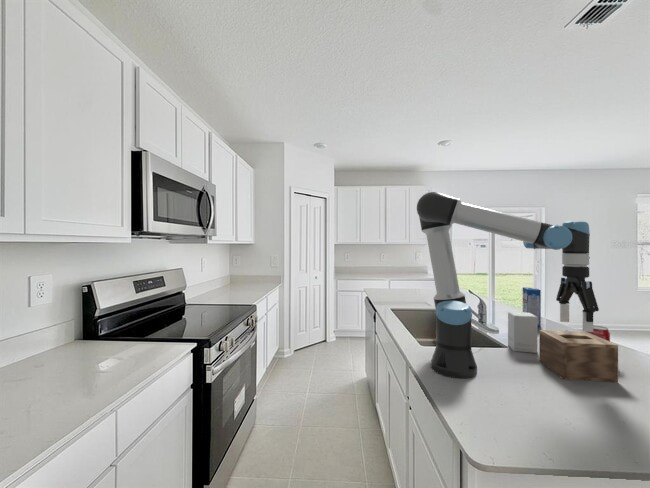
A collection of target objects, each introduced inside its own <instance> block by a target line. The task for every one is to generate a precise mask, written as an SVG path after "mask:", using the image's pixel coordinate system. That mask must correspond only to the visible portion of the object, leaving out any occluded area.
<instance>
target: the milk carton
mask: <svg viewBox="0 0 650 488" xmlns="http://www.w3.org/2000/svg"><path fill="white" fill-rule="evenodd" d="M541 291H542V290H541V289H539V288H537V287H527V286H526V287H522V312H527V313H531V314H533V315H535V316H536V317H538V327H537V328H542V327H541V325H542V323H541V322H542V321H541V318H542V315H541V312H542V311H541V309H542V307H541V306H542V305H541V304H542V301H541V300H542V298H541V295H542V292H541Z"/></svg>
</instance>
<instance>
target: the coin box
mask: <svg viewBox="0 0 650 488" xmlns="http://www.w3.org/2000/svg"><path fill="white" fill-rule="evenodd" d="M538 332H539V339H538V341H539V359H538V360H539V363H541V364H542V365H544V366H545V367H546V368H547V369H549V370H550V371H552V372H553V373H554V374H556V375H557V376H558V377H560V378H561V379H563V380H577V381H589V382H590V381H591V382H605V383H606V382H607V383H619V345H618V344H616V343H613V342H611V341H610V342H609V341H607V340H605V339H602V338H600V337H598V336H595V335H593V334H591V333H588V332H585V331H575V330H574V331H573V330H572V331H570V330H551V329H549V330H548V329H539V331H538Z"/></svg>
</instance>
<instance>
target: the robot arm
mask: <svg viewBox="0 0 650 488" xmlns="http://www.w3.org/2000/svg"><path fill="white" fill-rule="evenodd" d="M416 213H417V215H418V218H419V223H420V227H421V228H420V229H421V232H422V233H423V234H425V235H426V240H427V246H428V251H429V256H430V263H431V268H432V275H433V279H434V285H435V289H436V294H435V295H434V297H433V301H434V308H435V316H436V317H435V323H436V324H435V329H436V330H435V336H436V337H435V341H436V342H435V343H436V344H435V345H436V346H435V349H434V352H433V354H432V358H431V360H430V365H431V366H430V368H431V369H432V371H434V372H435V373H437V374H439V375H442V376H444V377H449V378H453V379H454V378H455V379H469V378H473V377H476V376H477V374H478V365H477V362H476V360H475V357H474V353H473V350H472V318H473V313H472V307H471V306H470V305H469V304H468V303H467V300H466V296H465V294H464V293H463V292H462V291H461V290H460V286H459V280H458V275H457V270H456V269H457V268H456V264H455V263H456V262H455V259H454V253H453V248H452V241H451V236H450V229H451V228H452V227H453V224H457V225H461V226H464V227H468V228H472V229H474V230H475V229H476V230H480V231H483V232H487V233H491V234H495V235H498V236H501V237H505V238H506V237H507V238H509V239H513V240H516V241H520V242H522V243H523V246H524V248H525V249H533V250H536V249H537V250H539V249H540V250H542V249H543V250H544V249H545V250H554V251H559V250H562V254H561V256H562V257H561V264H562V267H561V269H562V272H561V273H562V276H563V277H561V278H560V284H559V289H558V291H557V294H556V297H555V298H556V299H555V301H557V302H558V303H559V322H562V323H570V299H571V298H572V296H573V295H574V294H575V295H577V296H578V297H577V298H578V299H579V301H580V303H581V306H582V308H583V309H582V332H593V325H594V313H595V312H599V311H600V309H599V305H598V302H597V298H596V295H595V292H594V289H593V283H592V281H586V279H587V278H589V277H590V267H589V265H590V258H591V257H590V235H591V234H590V225H589V223H588V222H586V221H582V220H581V221H579V220H578V221H564V222H563V223H562V225H559V224H550V223H546V222H541V221H538V220H534V219H530V218H525V217H523V216H522V217H521V216H517V215H513V214H509V213H505V212H501V211H497V210H493V209H489V208H485V207H481V206H477V205H473V204H469V203H465V202H462V201H461V200H460V198H458V197H453V196H451V195H447V194H444V193H441V192H437V191H429V192H427V193H425V194H423V195H422V196H420V198H419V199H418V201H417V203H416Z"/></svg>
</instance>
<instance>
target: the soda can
mask: <svg viewBox="0 0 650 488" xmlns="http://www.w3.org/2000/svg"><path fill="white" fill-rule="evenodd" d="M588 333H591V334H593V335H595V336H598V337H600V338H602V339H605V340H607V341H609V342H611V333H610V331H609V328H608V327H606V326H602V325H594V324H593V332H588Z"/></svg>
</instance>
